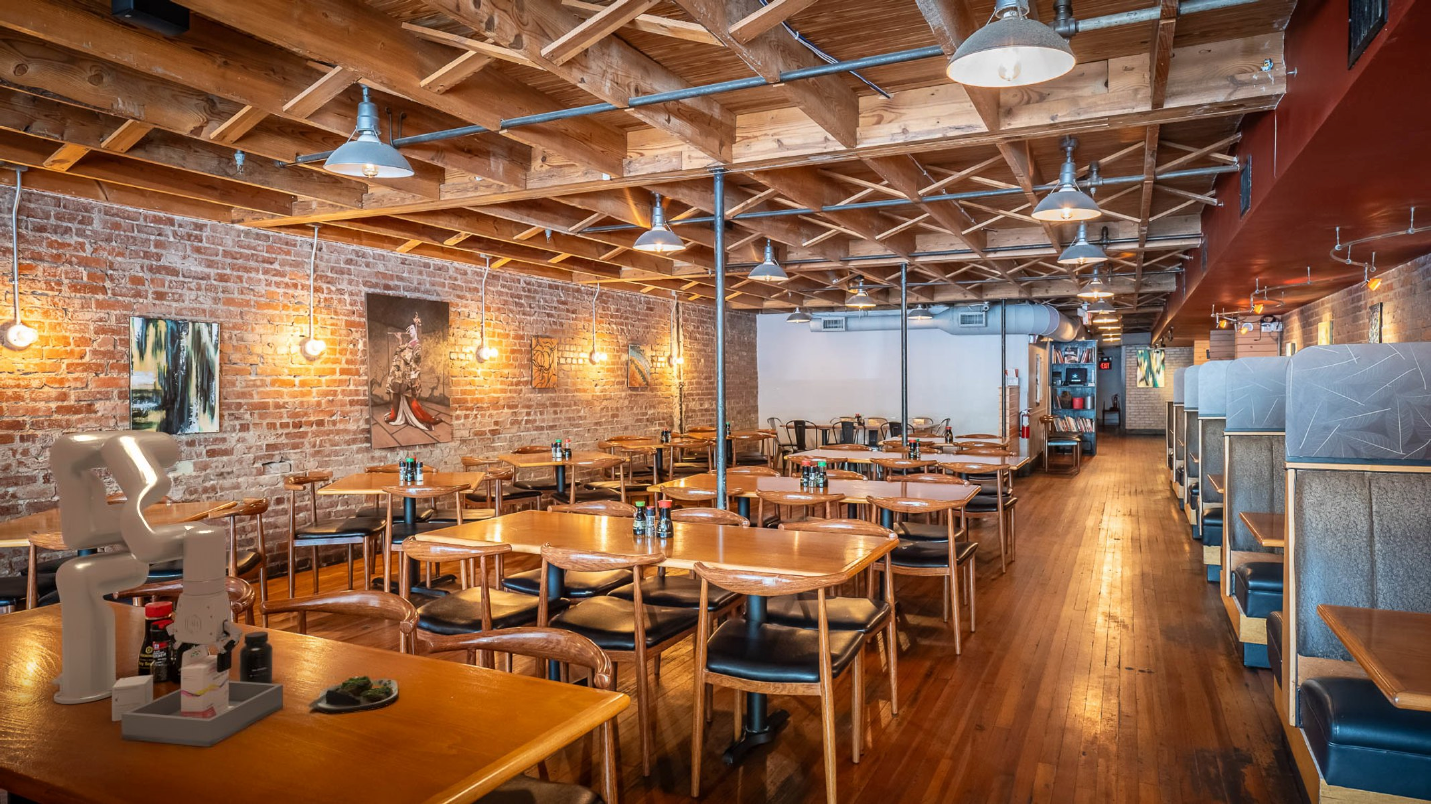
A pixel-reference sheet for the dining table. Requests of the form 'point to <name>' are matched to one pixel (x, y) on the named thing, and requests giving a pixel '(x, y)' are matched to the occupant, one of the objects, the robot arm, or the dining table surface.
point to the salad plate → (356, 695)
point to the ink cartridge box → (203, 685)
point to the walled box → (168, 726)
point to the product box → (131, 694)
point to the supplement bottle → (256, 659)
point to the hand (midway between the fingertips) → (203, 668)
